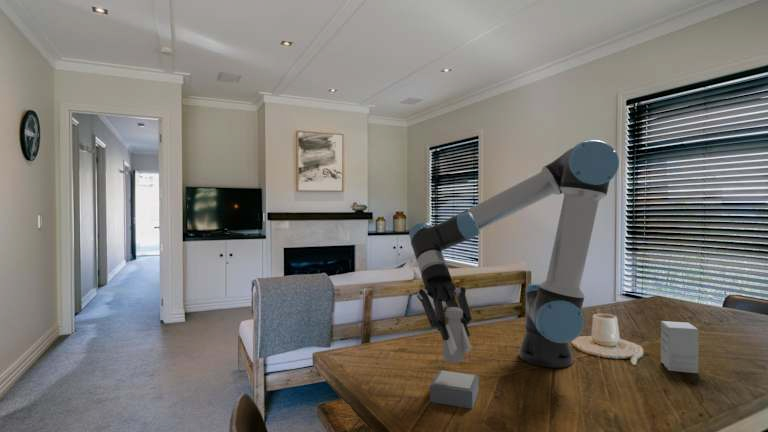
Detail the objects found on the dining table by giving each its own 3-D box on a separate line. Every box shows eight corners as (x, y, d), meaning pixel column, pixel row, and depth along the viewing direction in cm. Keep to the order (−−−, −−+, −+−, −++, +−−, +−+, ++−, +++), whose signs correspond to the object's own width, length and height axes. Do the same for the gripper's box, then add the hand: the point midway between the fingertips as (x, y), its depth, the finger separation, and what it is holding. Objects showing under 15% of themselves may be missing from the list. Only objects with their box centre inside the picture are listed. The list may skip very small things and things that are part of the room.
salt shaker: (465, 365, 99) (465, 311, 98) (441, 363, 100) (441, 310, 100) (465, 357, 104) (466, 305, 104) (442, 355, 106) (443, 304, 105)
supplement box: (689, 364, 122) (689, 322, 122) (698, 374, 115) (699, 329, 115) (660, 361, 125) (660, 320, 125) (667, 371, 118) (668, 326, 118)
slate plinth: (478, 391, 105) (478, 374, 105) (472, 408, 96) (472, 390, 96) (439, 385, 109) (439, 368, 109) (430, 401, 99) (430, 384, 99)
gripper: (456, 277, 119) (485, 355, 103) (403, 280, 114) (425, 361, 99) (465, 261, 114) (497, 340, 98) (409, 263, 109) (434, 346, 93)
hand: (461, 350), depth 98 cm, fingers closed on salt shaker, 3 cm apart
